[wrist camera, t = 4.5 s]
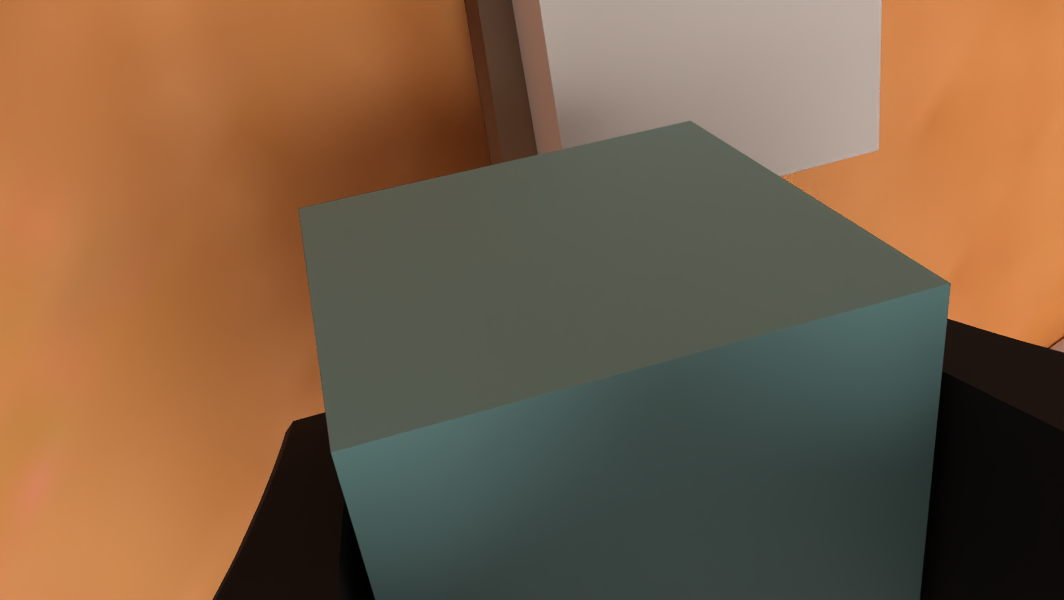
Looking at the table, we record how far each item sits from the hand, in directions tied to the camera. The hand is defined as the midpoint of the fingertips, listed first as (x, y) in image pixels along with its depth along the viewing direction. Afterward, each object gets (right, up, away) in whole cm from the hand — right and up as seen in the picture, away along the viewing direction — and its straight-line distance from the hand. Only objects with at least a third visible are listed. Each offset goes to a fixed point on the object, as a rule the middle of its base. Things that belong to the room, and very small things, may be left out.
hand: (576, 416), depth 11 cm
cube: (-1, +1, +2) cm, 2 cm away
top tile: (+2, +7, +6) cm, 9 cm away
